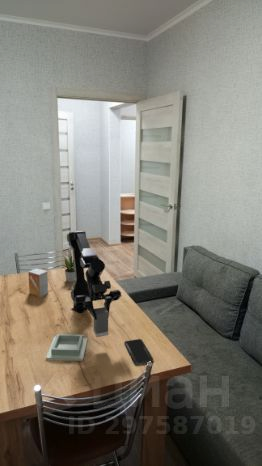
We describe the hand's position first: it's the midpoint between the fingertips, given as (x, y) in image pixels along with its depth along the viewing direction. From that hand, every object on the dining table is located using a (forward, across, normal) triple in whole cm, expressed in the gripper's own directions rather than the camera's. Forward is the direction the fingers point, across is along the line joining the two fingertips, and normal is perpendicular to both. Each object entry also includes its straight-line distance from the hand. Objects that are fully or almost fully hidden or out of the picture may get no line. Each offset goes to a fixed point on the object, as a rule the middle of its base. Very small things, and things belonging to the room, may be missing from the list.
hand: (101, 318), depth 129 cm
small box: (-32, -17, +52) cm, 63 cm away
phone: (+15, +13, +5) cm, 21 cm away
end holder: (+7, -13, +12) cm, 19 cm away
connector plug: (+4, 0, +6) cm, 7 cm away
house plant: (-41, +4, +61) cm, 74 cm away
